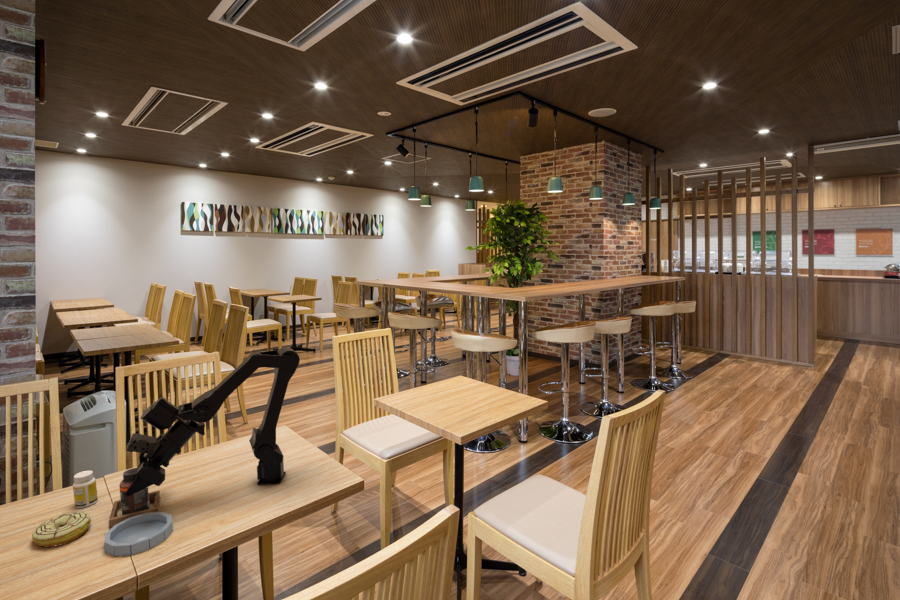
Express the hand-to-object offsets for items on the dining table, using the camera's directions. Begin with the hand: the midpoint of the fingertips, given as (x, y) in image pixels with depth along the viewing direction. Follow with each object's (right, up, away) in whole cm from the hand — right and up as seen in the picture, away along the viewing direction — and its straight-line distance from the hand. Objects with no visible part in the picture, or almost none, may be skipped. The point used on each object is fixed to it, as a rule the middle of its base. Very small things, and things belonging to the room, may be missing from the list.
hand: (127, 489), depth 115 cm
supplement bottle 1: (-15, -6, +6) cm, 17 cm away
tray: (+1, -7, +1) cm, 7 cm away
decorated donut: (-10, -8, -8) cm, 15 cm away
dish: (+9, -8, -9) cm, 15 cm away
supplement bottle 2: (+1, -7, +1) cm, 7 cm away
